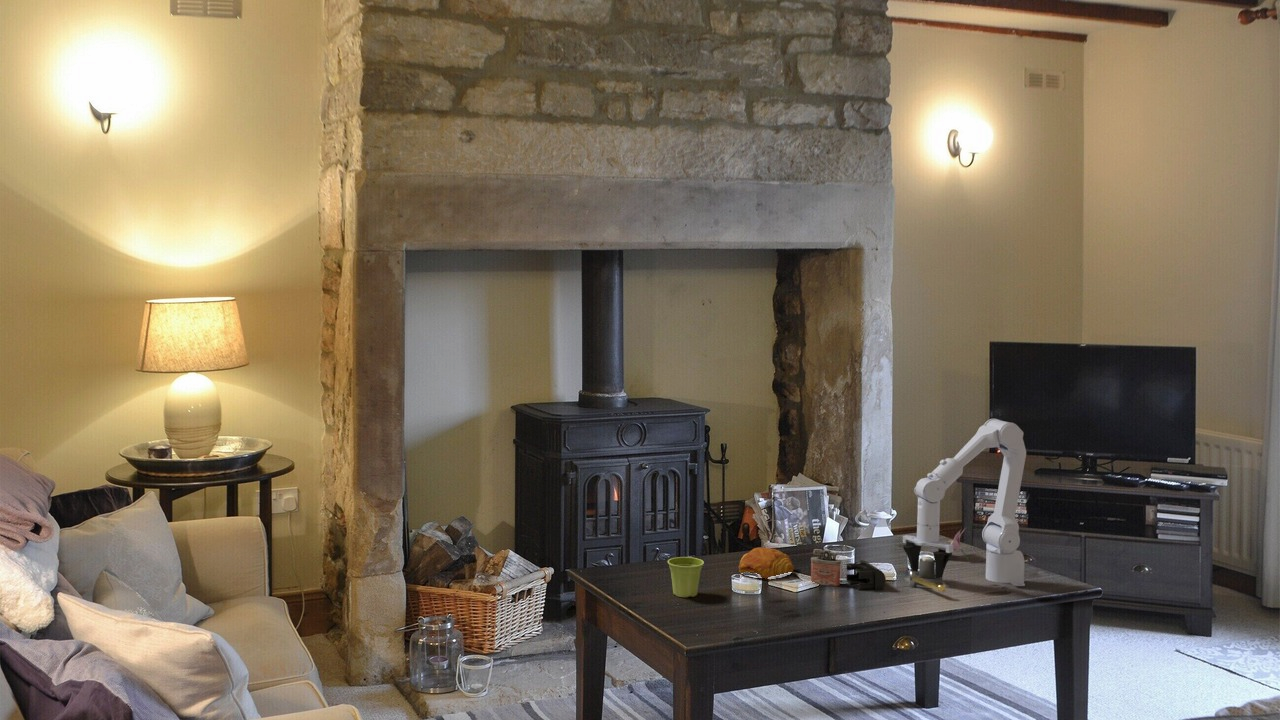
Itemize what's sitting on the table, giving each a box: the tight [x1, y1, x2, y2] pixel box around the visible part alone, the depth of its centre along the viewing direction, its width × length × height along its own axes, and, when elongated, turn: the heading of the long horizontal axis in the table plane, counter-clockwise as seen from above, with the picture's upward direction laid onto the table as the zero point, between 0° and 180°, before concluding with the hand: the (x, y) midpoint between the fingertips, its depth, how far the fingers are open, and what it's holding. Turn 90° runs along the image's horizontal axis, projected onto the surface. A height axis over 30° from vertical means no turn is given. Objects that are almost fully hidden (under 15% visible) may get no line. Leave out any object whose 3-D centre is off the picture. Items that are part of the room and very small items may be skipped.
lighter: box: [810, 548, 842, 587], centre depth 297 cm, size 8×3×10 cm, turn 65°
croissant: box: [737, 546, 795, 580], centre depth 311 cm, size 14×16×8 cm
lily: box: [948, 527, 969, 561], centre depth 328 cm, size 12×12×10 cm
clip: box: [909, 570, 947, 593], centre depth 289 cm, size 13×2×4 cm, turn 24°
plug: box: [917, 556, 943, 587], centre depth 298 cm, size 8×8×7 cm
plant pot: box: [667, 556, 705, 598], centre depth 289 cm, size 9×9×9 cm
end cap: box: [845, 559, 887, 591], centre depth 295 cm, size 10×7×7 cm
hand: (926, 574), depth 298 cm, fingers open, 7 cm apart
